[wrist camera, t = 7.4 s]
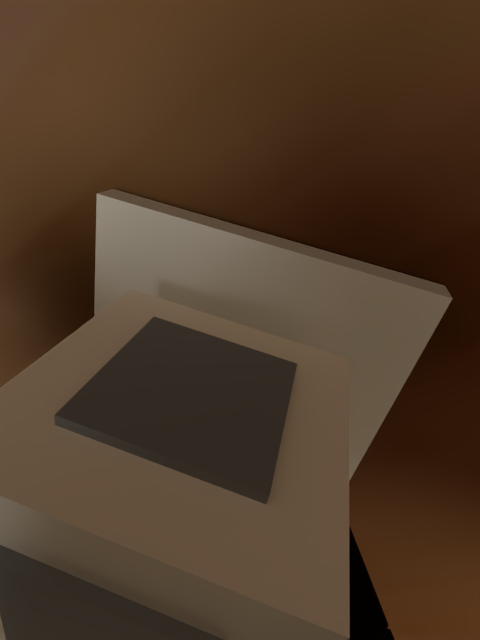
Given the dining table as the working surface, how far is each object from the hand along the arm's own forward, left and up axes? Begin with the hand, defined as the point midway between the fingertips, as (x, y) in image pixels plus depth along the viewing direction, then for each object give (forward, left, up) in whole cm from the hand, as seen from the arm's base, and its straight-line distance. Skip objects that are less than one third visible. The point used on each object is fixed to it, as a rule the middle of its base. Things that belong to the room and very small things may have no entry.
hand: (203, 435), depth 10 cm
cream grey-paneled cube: (0, 0, -1) cm, 1 cm away
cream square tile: (0, 0, -3) cm, 3 cm away
